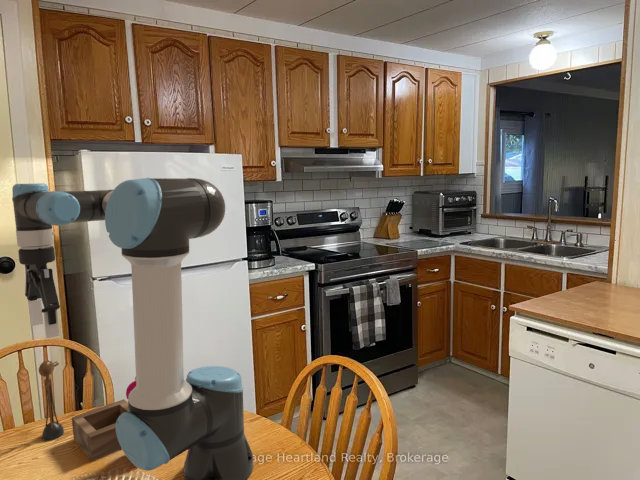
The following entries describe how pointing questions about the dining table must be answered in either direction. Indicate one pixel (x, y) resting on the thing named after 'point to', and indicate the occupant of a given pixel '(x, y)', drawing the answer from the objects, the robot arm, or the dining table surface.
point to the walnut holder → (99, 430)
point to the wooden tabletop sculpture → (50, 403)
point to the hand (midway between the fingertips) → (44, 330)
